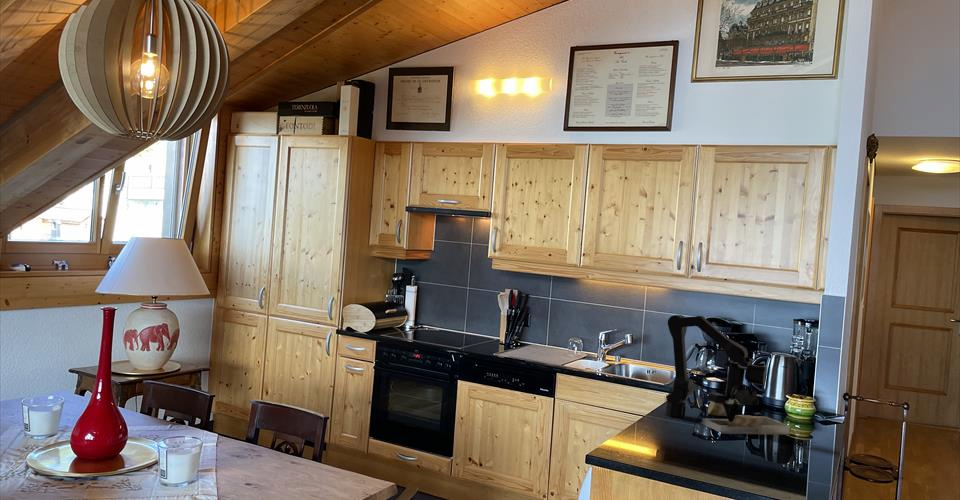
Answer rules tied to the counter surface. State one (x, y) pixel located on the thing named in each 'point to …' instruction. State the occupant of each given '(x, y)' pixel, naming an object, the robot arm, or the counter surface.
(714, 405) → the cream ceramic pitcher
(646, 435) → the counter surface
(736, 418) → the chip
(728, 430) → the rail board
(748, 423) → the chip
